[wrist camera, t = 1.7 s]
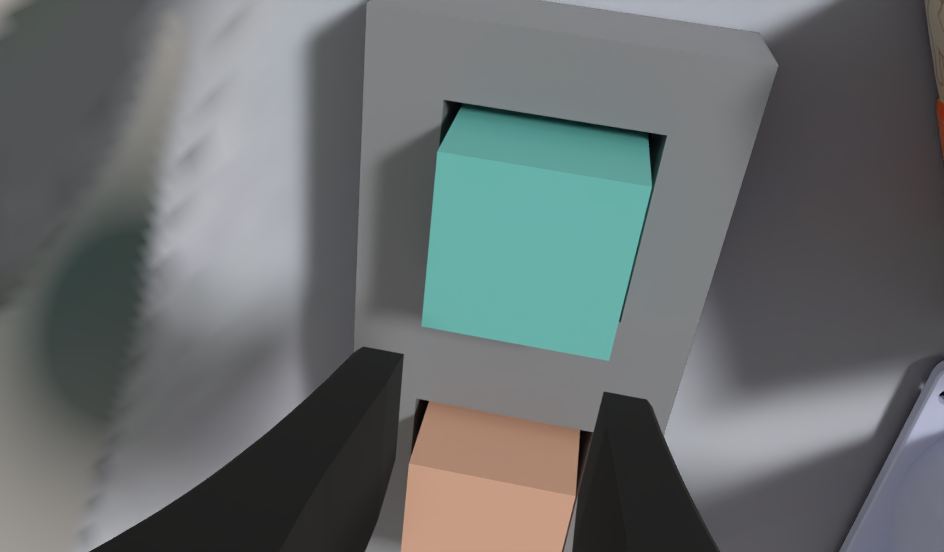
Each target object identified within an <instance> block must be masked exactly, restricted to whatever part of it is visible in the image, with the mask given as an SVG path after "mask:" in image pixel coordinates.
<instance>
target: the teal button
mask: <svg viewBox="0 0 944 552" xmlns="http://www.w3.org/2000/svg"><path fill="white" fill-rule="evenodd" d="M651 189H652V180H651V167H650V154H649V141H648V132H643V131H636V130H630V129H624V128H618V127H611V126H605V125H599V124H592V123H586V122H580V121H574V120H567V119H561V118H555V117H549V116H542V115H536V114H530V113H524V112H517V111H511V110H505V109H499V108H492V107H486V106H480V105H473V104H467V103H463V104H462V106H461V108H460V110H459V112H458V114H457V116H456V117H455V119H454V121H453V123H452V125H451V127H450V129H449V131H448V132H447V134H446V136H445V138H444V140H443V142H442V144H441V146H440V147H439V149H438V151H437V161H436V172H435V183H434V194H433V205H432V216H431V227H430V238H429V249H428V260H427V271H426V282H425V293H424V304H423V314H422V325H421V326H422V327H427V328H433V329H438V330H444V331H449V332H454V333H460V334H465V335H471V336H476V337H482V338H487V339H493V340H498V341H503V342H509V343H514V344H520V345H525V346H531V347H536V348H541V349H547V350H552V351H558V352H563V353H569V354H574V355H580V356H585V357H590V358H596V359H601V360H607V361H609V359H610V355H611V351H612V347H613V343H614V339H615V335H616V331H617V327H618V323H619V318H620V314H621V310H622V306H623V302H624V298H625V294H626V290H627V286H628V282H629V278H630V274H631V270H632V266H633V262H634V258H635V254H636V250H637V246H638V242H639V238H640V234H641V229H642V225H643V221H644V217H645V213H646V209H647V205H648V201H649V197H650V193H651Z"/></svg>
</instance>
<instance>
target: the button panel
mask: <svg viewBox="0 0 944 552" xmlns="http://www.w3.org/2000/svg"><path fill="white" fill-rule="evenodd" d="M777 69H778V63H777V62H776V60H775V58H774V57H773V55H772V53H771V52H770V50H769V48H768V47H767V45H766V43H765V42H764V40H763V38H762V36H761V35H760V33H757V32H750V31H743V30H736V29H729V28H723V27H716V26H709V25H702V24H696V23H689V22H682V21H675V20H669V19H662V18H655V17H648V16H641V15H635V14H628V13H621V12H614V11H608V10H601V9H594V8H587V7H581V6H574V5H567V4H560V3H553V2H547V1H540V0H370V1H369V2H367V4H366V31H365V57H364V83H363V110H362V136H361V163H360V189H359V215H358V242H357V268H356V295H355V321H354V348H353V353H354V352H355V351H357V350H358V349H360V348H361V347H363V346H364V347H369V348H375V349H380V350H385V351H391V352H396V353H401V354H404V360H403V372H402V385H401V398H400V410H399V423H398V436H397V448H396V459H395V463H394V466H393V470H392V473H391V477H390V480H389V484H388V487H387V491H386V494H385V498H384V501H383V505H382V508H381V511H380V515H379V518H378V521H377V524H376V526H375V529H374V531H373V534H372V536H371V538H370V541H369V543H368V546H367V548H366V550H365V552H401V545H402V534H403V523H404V512H405V501H406V490H407V479H408V468H409V462H410V458H411V455H412V452H413V449H414V446H415V443H416V440H417V437H418V434H419V431H420V428H421V425H422V422H423V418H424V415H425V412H426V409H427V406H428V403H429V401H432V402H438V403H443V404H448V405H453V406H458V407H464V408H469V409H474V410H479V411H485V412H490V413H495V414H500V415H505V416H511V417H516V418H521V419H526V420H532V421H537V422H542V423H547V424H553V425H558V426H563V427H568V428H573V429H579V430H582V434H581V438H580V442H579V453H578V468H577V482H576V497H575V501H574V505H573V509H572V513H571V517H570V521H569V525H568V529H567V533H566V537H565V541H564V545H563V549H562V552H572V547H573V537H574V527H575V518H576V509H577V499H578V492H579V488H580V484H581V480H582V476H583V472H584V468H585V464H586V460H587V456H588V452H589V448H590V444H591V440H592V436H593V432H594V428H595V424H596V420H597V416H598V412H599V408H600V404H601V400H602V396H603V392H610V393H615V394H621V395H626V396H631V397H637V398H642V399H647V400H648V402H649V403H650V404H651V406H652V407H653V410H654V413H655V415H656V418H657V421H658V423H659V426H660V429H661V431H662V434H663V436H664V432H665V429H666V426H667V423H668V420H669V416H670V413H671V410H672V407H673V404H674V400H675V397H676V394H677V391H678V387H679V384H680V381H681V378H682V375H683V371H684V368H685V365H686V362H687V358H688V355H689V352H690V349H691V346H692V342H693V339H694V336H695V333H696V329H697V326H698V323H699V320H700V317H701V313H702V310H703V307H704V304H705V300H706V297H707V294H708V291H709V288H710V284H711V281H712V278H713V275H714V272H715V268H716V265H717V262H718V259H719V255H720V252H721V249H722V246H723V243H724V239H725V236H726V233H727V230H728V226H729V223H730V220H731V217H732V214H733V210H734V207H735V204H736V201H737V197H738V194H739V191H740V188H741V185H742V181H743V178H744V175H745V172H746V168H747V165H748V162H749V159H750V156H751V152H752V149H753V146H754V143H755V140H756V136H757V133H758V130H759V127H760V123H761V120H762V117H763V114H764V111H765V107H766V104H767V101H768V98H769V94H770V91H771V88H772V85H773V82H774V78H775V75H776V72H777ZM460 102H461V103H467V104H473V105H480V106H486V107H492V108H499V109H505V110H511V111H517V112H524V113H530V114H536V115H542V116H549V117H555V118H561V119H567V120H574V121H580V122H586V123H592V124H599V125H605V126H611V127H618V128H624V129H630V130H636V131H643V132H649V133H653V137H652V141H651V145H650V149H649V154H650V167H651V180H652V189H651V193H650V197H649V201H648V205H647V209H646V213H645V217H644V221H643V225H642V229H641V234H640V238H639V242H638V246H637V250H636V254H635V258H634V262H633V266H632V270H631V274H630V278H629V282H628V286H627V290H626V294H625V298H624V302H623V306H622V310H621V314H620V318H619V323H618V327H617V331H616V335H615V339H614V343H613V347H612V351H611V355H610V359H609V361H607V360H601V359H596V358H590V357H585V356H580V355H574V354H569V353H563V352H558V351H552V350H547V349H541V348H536V347H531V346H525V345H520V344H514V343H509V342H503V341H498V340H493V339H487V338H482V337H476V336H471V335H465V334H460V333H454V332H449V331H444V330H438V329H433V328H427V327H422V326H421V325H422V314H423V304H424V293H425V282H426V271H427V260H428V249H429V238H430V227H431V216H432V205H433V194H434V183H435V172H436V161H437V151H438V149H439V147H440V146H441V144H442V142H443V140H444V138H445V136H446V134H447V132H448V131H449V129H450V127H451V125H452V123H453V121H454V119H455V117H456V116H457V114H458V112H459V109H460Z"/></svg>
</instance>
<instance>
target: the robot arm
mask: <svg viewBox="0 0 944 552" xmlns="http://www.w3.org/2000/svg"><path fill="white" fill-rule="evenodd" d="M403 360H404V354H401V353H396V352H391V351H385V350H380V349H375V348H369V347H364V346H363V347H361V348H360V349H358V350H357V351H355V352H354V353H353V354H352V355H351V356H350V357H349V358H348V359H347V360H346V361H345V362H344V363H343V364H342V365H341V366H340V367H339V368H338V369H337V370H336V371H335V372H334V373H333V374H332V375H331V376H330V377H329V378H328V379H327V380H326V381H325V382H324V383H323V384H322V385H320V386H319V387H318V388H317V389H316V390H315V391H314V392H313V393H312V394H311V395H310V396H309V397H308V398H306V399H305V400H304V401H303V402H302V403H301V404H300V405H299V406H297V407H296V408H295V409H294V410H293V411H292V412H291V413H289V414H288V415H287V416H286V417H285V418H284V419H283V420H281V421H280V422H279V423H278V424H277V425H276V426H274V427H273V428H272V429H271V430H270V431H269V432H267V433H266V434H265V435H264V436H263V437H261V438H260V439H259V440H257V441H256V442H255V443H254V444H252V445H251V446H250V447H248V448H247V449H246V450H245V451H243V452H242V453H241V454H239V455H238V456H237V457H236V458H234V459H233V460H232V461H230V462H229V463H228V464H227V465H225V466H224V467H223V468H221V469H220V470H219V471H217V472H216V473H214V474H213V475H212V476H210V477H209V478H207V479H206V480H205V481H203V482H202V483H200V484H199V485H198V486H196V487H195V488H193V489H192V490H190V491H189V492H187V493H186V494H184V495H183V496H181V497H180V498H178V499H177V500H175V501H174V502H172V503H171V504H169V505H167V506H166V507H164V508H163V509H161V510H160V511H158V512H157V513H155V514H153V515H152V516H150V517H148V518H147V519H145V520H143V521H142V522H140V523H138V524H137V525H135V526H133V527H131V528H130V529H128V530H126V531H125V532H123V533H121V534H120V535H118V536H116V537H114V538H113V539H111V540H109V541H108V542H106V543H104V544H102V545H100V546H99V547H97V548H95V549H93V550H91V551H90V552H365V550H366V548H367V546H368V543H369V541H370V538H371V536H372V534H373V531H374V529H375V526H376V524H377V521H378V518H379V515H380V511H381V508H382V505H383V501H384V498H385V494H386V491H387V487H388V484H389V480H390V477H391V473H392V470H393V466H394V463H395V459H396V448H397V436H398V423H399V410H400V398H401V385H402V372H403ZM943 391H944V361H942V362H940V363H939V364H937V365H936V367H935V368H934V369H933V370H932V372H931V374H930V376H929V378H928V380H927V382H926V384H925V386H924V388H923V390H922V392H921V394H920V396H919V398H918V399H917V401H916V403H915V405H914V407H913V409H912V411H911V413H910V415H909V417H908V419H907V421H906V423H905V425H904V427H903V429H902V431H901V432H900V434H899V436H898V438H897V440H896V442H895V444H894V446H893V448H892V450H891V452H890V454H889V456H888V458H887V460H886V462H885V464H884V465H883V467H882V469H881V471H880V473H879V475H878V477H877V479H876V481H875V483H874V485H873V487H872V489H871V491H870V493H869V495H868V496H867V498H866V500H865V502H864V504H863V506H862V508H861V510H860V512H859V514H858V516H857V518H856V520H855V522H854V524H853V526H852V528H851V529H850V531H849V533H848V535H847V537H846V539H845V541H844V543H843V545H842V547H841V549H840V551H839V552H944V396H939V395H940V393H941V392H943ZM572 552H720V551H719V549H718V547H717V546H716V544H715V542H714V540H713V538H712V537H711V535H710V533H709V531H708V529H707V527H706V525H705V524H704V522H703V520H702V518H701V516H700V514H699V512H698V510H697V508H696V506H695V504H694V502H693V500H692V498H691V496H690V494H689V492H688V490H687V488H686V486H685V484H684V482H683V480H682V477H681V475H680V473H679V471H678V469H677V466H676V464H675V462H674V460H673V457H672V455H671V453H670V451H669V448H668V446H667V443H666V441H665V439H664V436H663V434H662V431H661V429H660V426H659V423H658V421H657V418H656V415H655V413H654V410H653V407H652V406H651V404H650V403H649V402H648V400H647V399H642V398H637V397H631V396H626V395H621V394H615V393H610V392H603V396H602V400H601V404H600V408H599V412H598V416H597V420H596V424H595V428H594V432H593V436H592V440H591V444H590V448H589V452H588V456H587V460H586V464H585V468H584V472H583V476H582V480H581V484H580V488H579V492H578V499H577V509H576V518H575V527H574V537H573V547H572Z"/></svg>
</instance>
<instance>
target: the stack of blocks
mask: <svg viewBox="0 0 944 552" xmlns="http://www.w3.org/2000/svg"><path fill="white" fill-rule="evenodd" d="M925 9H926V17H927V24H928V32H929V40H930V46H931V52H932V58H933V66H934V74H935V79H936V84H937V89H938V93H939V99H938V100H937V102H936V113H937V119H938V124H939V132H940V139H941V147H942V154H943V161H944V0H925Z"/></svg>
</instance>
